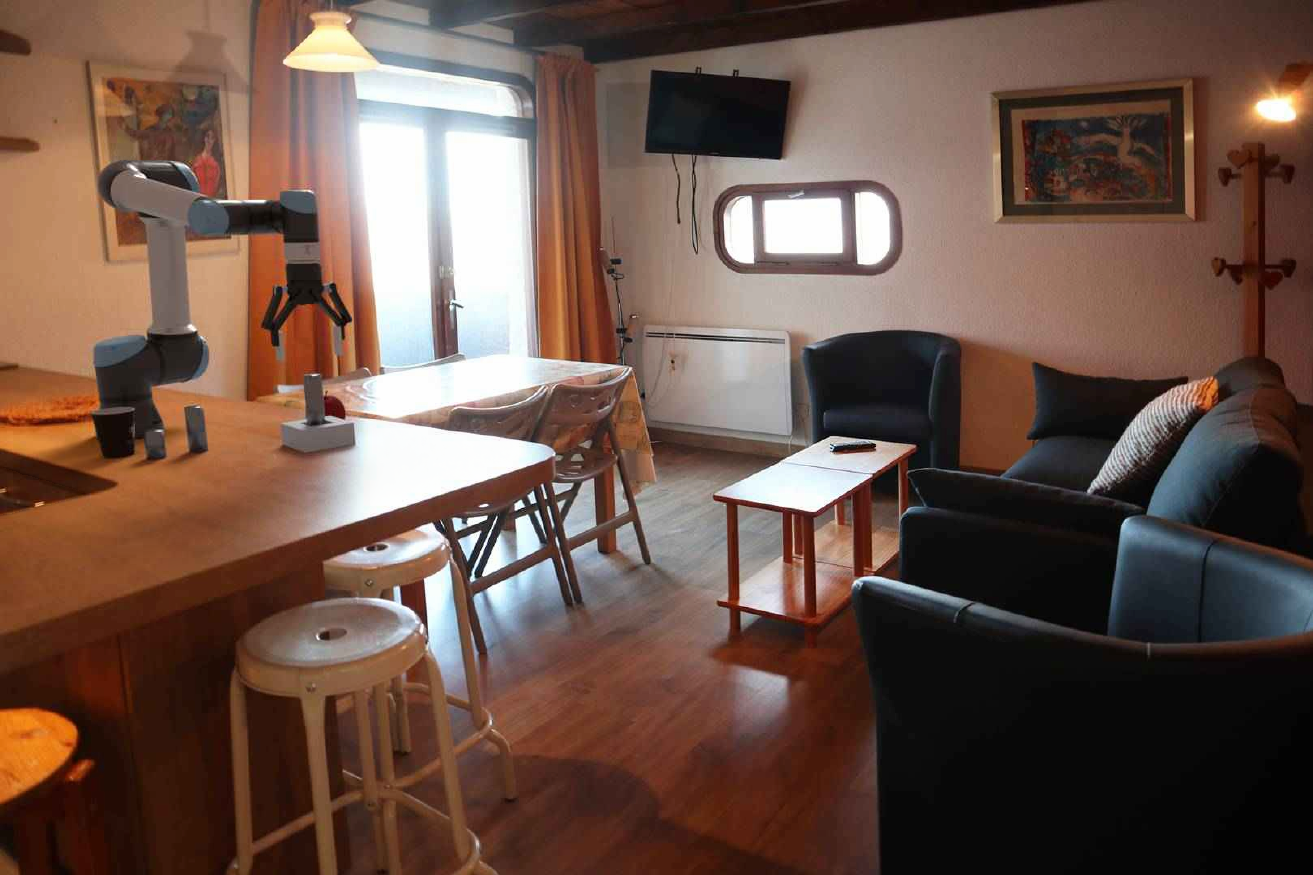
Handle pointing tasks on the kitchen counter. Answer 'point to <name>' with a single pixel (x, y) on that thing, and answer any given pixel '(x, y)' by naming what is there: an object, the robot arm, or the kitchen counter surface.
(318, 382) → the long pin
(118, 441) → the coffee mug
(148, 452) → the short pin
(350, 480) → the kitchen counter surface
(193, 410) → the medium pin
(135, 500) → the kitchen counter surface
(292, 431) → the hole block
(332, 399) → the apple
